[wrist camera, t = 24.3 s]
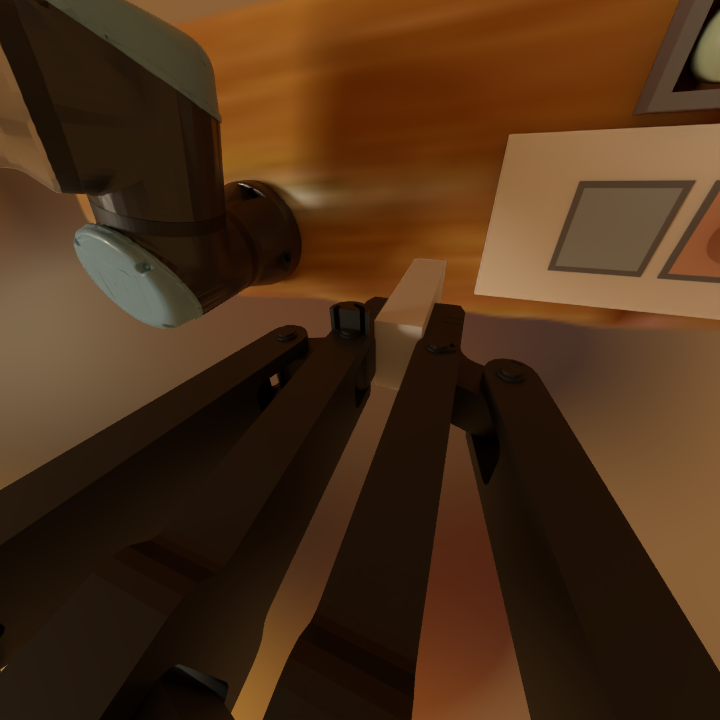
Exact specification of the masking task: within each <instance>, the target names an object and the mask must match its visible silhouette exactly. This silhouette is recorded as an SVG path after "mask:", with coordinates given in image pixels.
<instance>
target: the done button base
mask: <svg viewBox="0 0 720 720" xmlns="http://www.w3.org/2000/svg"><path fill="white" fill-rule="evenodd" d="M713 1H714V0H680V1H679V4H678V6H677V8H676V11H675V13H674V16H673V18H672V21H671V23H670V25H669V28H668V30H667V33H666V35H665V38H664V40H663V42H662V45H661V47H660V50H659V52H658V55H657V57H656V59H655V62H654V64H653V67H652V69H651V72H650V74H649V76H648V79H647V81H646V84H645V86H644V89H643V91H642V93H641V96H640V98H639V101H638V103H637V105H636V108H635V110H634V113H633V115H638V114H654V113H670V112H686V111H703V110H719V109H720V89H709V90H697V91H684V92H672V90H673V88H674V86H675V84H676V82H677V79H678V77H679V75H680V73H681V71H682V69H683V66H684V64H685V62H686V60H687V58H688V55H689V53H690V51H691V49H692V47H693V44H694V42H695V40H696V38H697V36H698V34H699V31H700V29H701V27H702V25H703V23H704V20H705V18H706V16H707V14H708V12H709V10H710V7H711V5H712V3H713Z"/></svg>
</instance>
